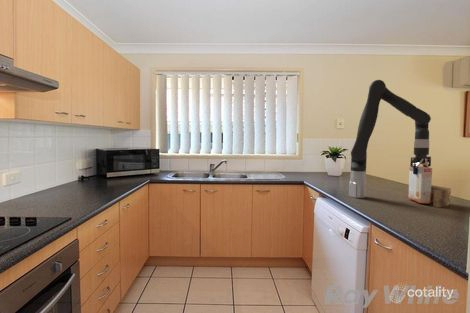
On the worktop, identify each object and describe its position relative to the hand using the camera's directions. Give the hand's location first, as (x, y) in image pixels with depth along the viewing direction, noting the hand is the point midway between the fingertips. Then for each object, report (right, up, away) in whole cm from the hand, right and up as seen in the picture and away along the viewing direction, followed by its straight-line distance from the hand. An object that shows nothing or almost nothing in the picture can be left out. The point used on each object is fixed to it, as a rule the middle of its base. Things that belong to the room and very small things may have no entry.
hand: (420, 174), depth 164 cm
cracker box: (0, -17, +1) cm, 17 cm away
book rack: (+3, -17, 0) cm, 17 cm away
